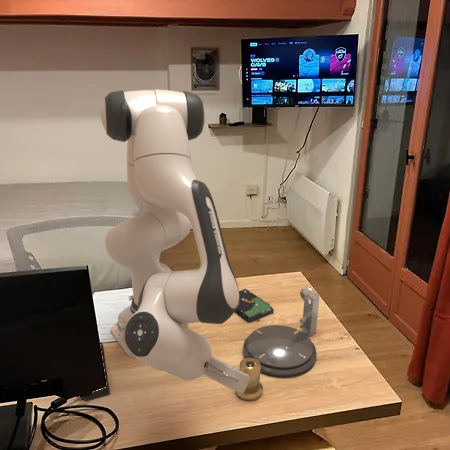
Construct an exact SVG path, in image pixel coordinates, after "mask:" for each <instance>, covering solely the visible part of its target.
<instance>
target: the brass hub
mask: <svg viewBox="0 0 450 450" xmlns="http://www.w3.org/2000/svg"><path fill="white" fill-rule="evenodd" d="M260 368H261V364H260V362H259V361H258V360H257V359H254V358H243V359H241V360H240V361H239V370H240V371H242V372H243V373H245V374H247V375H249V377H250V380H249V383H248V385H247V387H246V389H245V391H244V392H243V393H240V392H237V391H235V390H234V393H235V395H236V396H237V397H238V398H239V399H240V400H242V401H246V402H253V401H257V400H259V399H260V398H261V397H262V396H263V394H264V393H263V391H264V387H263V384H262V382H260V381H261V379H260V378H261V373H260Z"/></svg>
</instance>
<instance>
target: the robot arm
mask: <svg viewBox="0 0 450 450" xmlns="http://www.w3.org/2000/svg"><path fill="white" fill-rule="evenodd" d="M100 120H101V124H102V126H103V129H104V130H105V133H106V135H107V136H108V137H109V138H110V139H111V140H113V141H118V142H121V143H125V142H127V146H126V173H127V174H126V181H127V190H128V193H129V194H130V195H131V196H132V198H133V199H134V200H137V201H138V202H140V203H142V212H141V214H139V215H136V216H132V217H131V218H128V219H125V220H123V221H121V222H119V223H118V224H116V225H115V226H114V227H112V228H111V229H109V230H108V232H107V233H106V236H105V240H104V241H105V242H104V243H105V245H104V246H105V250H106V252H107V255H108V256H109V257H110V258H111V260H113V262H115V263H117V264H118V265H121V266H122V267H125V269H126V270H127V271H128V273H129V276H130V280H131V287H132V295H130V296H128V298H129V299H128V301H129V302H130V301H131V304H130V305H129V306H127V307H126V308H124V309H122V310H121V311H120V313H119V314H118V316H117V321H116V322H115V323H114V324H113V325H112V326H111V327H110V333H111V334H112V336H113V338H114V339H115V340H116V342H117V343H118V344H119V346H120V347H121V348H122V350H123V351H124V352H125V353H126V354H127V355H126V356H128V357H130V358H133V357H134V358H135V359H136V360H138V361H139V362H141V363H142V364H144V365H146V366H148V367H150V368H153V369H156V370H158V371H162V372H165V373H167V374H168V375H171V376H173V377H177V378H178V379H182V380H184V381H193V380H196V379H199V378H200V377H202V376H203V375H204V376H206V377H208V378H210V379H212V380H213V381H215V382H217V383H218V384H219V385H222V386H225V387H226V388H229V389H231V390H233V391H234V392H235V391H237V392H240V393H243V392H244V391H245V389H246V387H247V385H248V383H249V380H250V377H249V375H247V374H245V373H243V372H242V371H240V369H238V368H236V367H234V366H232V365H230V364H228V363H226V362H224V361H222V360H220V359H218V358H216V357H214V356H213V355H212V347H211V345H210V342H209V341H208V340H207V338H206V337H204V336H203V335H201V334H200V333H198V332H196V331H194V330H192V329H191V328H190V327H189V325H188V324H194V323H195V324H197V323H201V324H209V325H211V324H213V325H222V324H224V323H225V322H227V321H228V320H229V319H230V318H231V317H232V316H233V315H234V314H235V311H236V309H237V308H238V306H239V300H240V295H239V291H240V290H239V289H240V288H239V285H238V282H237V279H236V276H235V273H234V271H233V268H232V266H231V262H230V259H229V256H228V252H227V248H226V243H225V241H224V235H223V232H222V228H221V223H220V220H219V216H218V212H217V209H216V204H215V202H214V199H213V197H212V193H211V191H210V189H209V187H208V185H207V184H206V183H205V182H203V181H200V180H198V178H197V176H196V175H195V171H194V169H193V165H192V157H191V147H190V141H192V140H195V139H197V138H198V137H199V136H201V135H202V133H203V129H204V127H205V124H206V110H205V107H204V102H203V100H202V99H201V97H200V96H199V95H198V94H196V93H194V92H190V91H185V90H184V91H177V90H171V89H169V90H168V89H156V88H155V89H142V90H141V89H140V90H139V89H138V90H127V91H124V90H123V89H122V90H121V89H120V90H115V91H111V92H109V93H107V95H106V96H105V97H104V101H103V102H102V106H101V109H100ZM191 229H192V230H193V235H194V236H193V237H194V239H195V243H196V249H197V251H198V256H199V261H200V267H199V268H194V269H188V270H187V269H186V270H185V269H184V270H171V268H170V267H169V266H168V265H166V263H165V264H164V263H163V262H160V253H161V252H164V251H166V250H167V249H170V248H172V247H175V246H176V245H178V244H179V243H181V241H182V240H184V239H185V238H186V237H187V236H189V234H190V232H191Z"/></svg>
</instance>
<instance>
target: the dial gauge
mask: <svg viewBox="0 0 450 450" xmlns="http://www.w3.org/2000/svg"><path fill="white" fill-rule="evenodd" d="M299 294H300V297H301V298H300V299H301V300H302V301H303V309H302V310H303V312H302V313H303V314H302V317H300V319H299V323H300V324H299V325H300V326H299V328H300V329H301V332H303V333H304V334H306V335H307V336H308V337H312V336H313V335H314V334H316V333H317V323H318V315H319V314H318V313H319V306H320V305H319V304H320V302H319V301H320V293H318V292H316V291H315V290H314V289H313V288H312V286H311V287H310V286H304V287H302V288H301V290H300V293H299Z"/></svg>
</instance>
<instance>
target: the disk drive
mask: <svg viewBox="0 0 450 450" xmlns="http://www.w3.org/2000/svg"><path fill="white" fill-rule="evenodd" d="M239 295H240V300H239V306H238V308H237V309H236V311H235V312H234V314H236V316H237V315H238V317H240V318H241V319H242V320H244V321H245V322H246V323H248V324H251V323H253V322H256V321H258V320H260V319H263V318H265V317H268V316H270V315H272V314H274V312H275V309H274V308H273V307H272V305H271V304H270V303H268V302H266V301H265V300H263V299H262V298H260V297H259V296H257V295H256V294H254V293H253V292H252V291H250V290H248V289H247V288H244V289H241V290H239Z"/></svg>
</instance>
